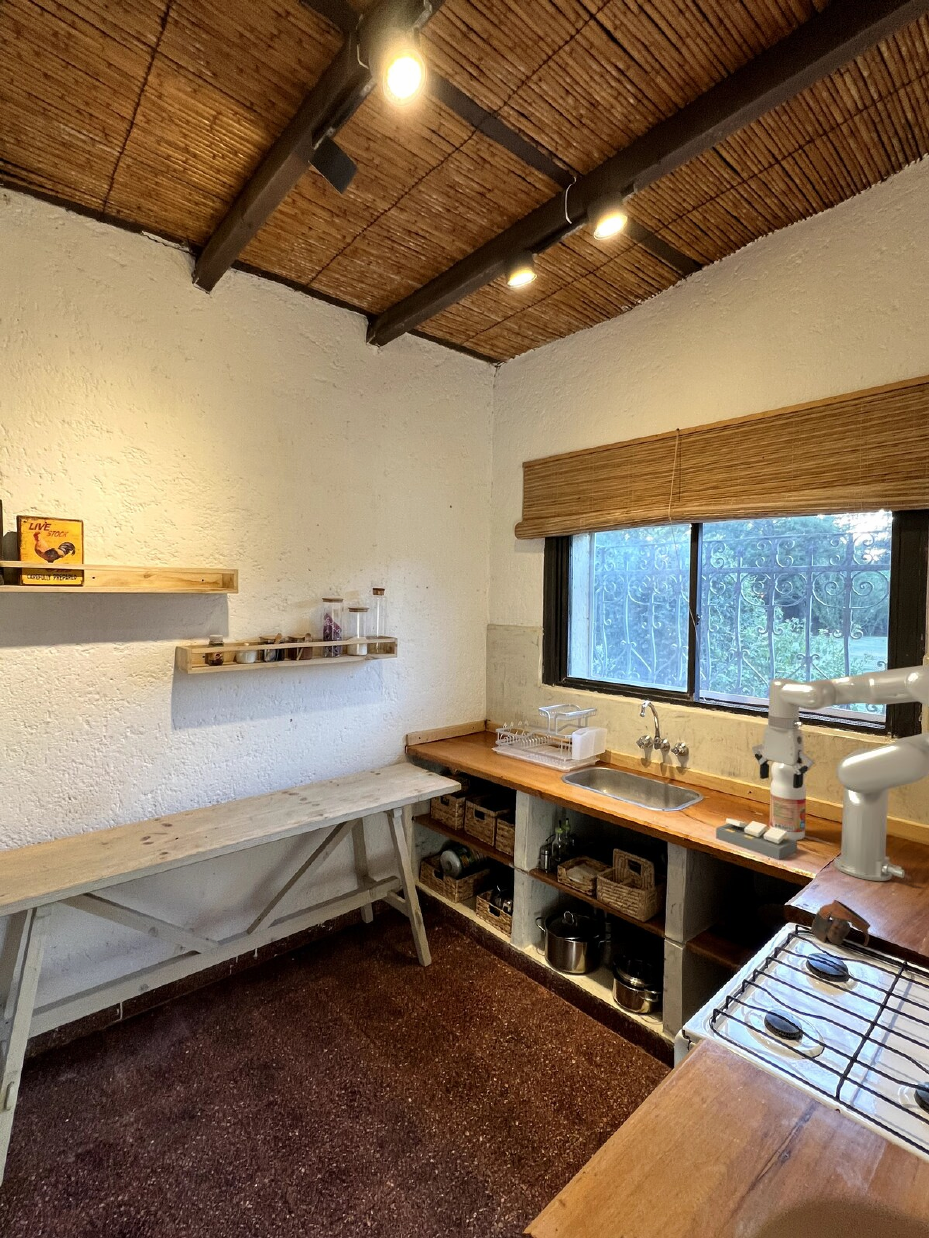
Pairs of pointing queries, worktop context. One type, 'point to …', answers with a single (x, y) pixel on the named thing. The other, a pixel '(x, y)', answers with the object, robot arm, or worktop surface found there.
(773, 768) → the fruit juice
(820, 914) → the pottery mug
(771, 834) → the block
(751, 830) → the rocker
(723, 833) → the switch panel
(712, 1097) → the worktop surface
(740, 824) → the rocker
